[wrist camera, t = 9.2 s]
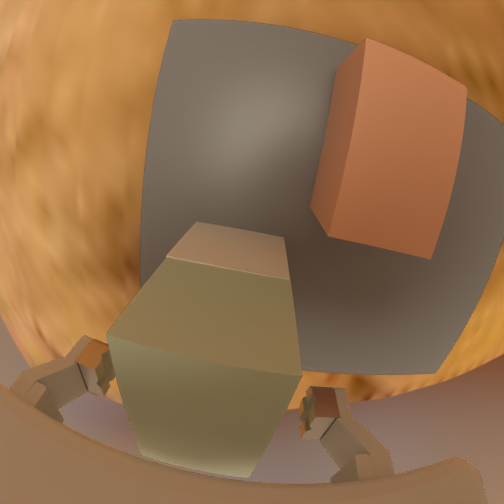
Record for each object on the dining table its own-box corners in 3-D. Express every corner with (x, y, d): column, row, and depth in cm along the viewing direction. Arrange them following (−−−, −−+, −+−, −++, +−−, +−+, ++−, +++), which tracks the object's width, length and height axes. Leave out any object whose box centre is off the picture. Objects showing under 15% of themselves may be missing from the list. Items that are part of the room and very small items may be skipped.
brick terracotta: (416, 98, 12) (467, 87, 7) (388, 225, 15) (430, 259, 10) (336, 68, 11) (366, 37, 7) (309, 206, 15) (328, 236, 10)
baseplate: (516, 140, 12) (567, 150, 6) (431, 366, 20) (454, 411, 15) (178, 26, 12) (138, -18, 6) (148, 332, 20) (118, 385, 14)
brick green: (290, 280, 11) (302, 375, 6) (254, 401, 14) (248, 478, 9) (167, 256, 11) (106, 333, 6) (167, 383, 14) (141, 455, 9)
